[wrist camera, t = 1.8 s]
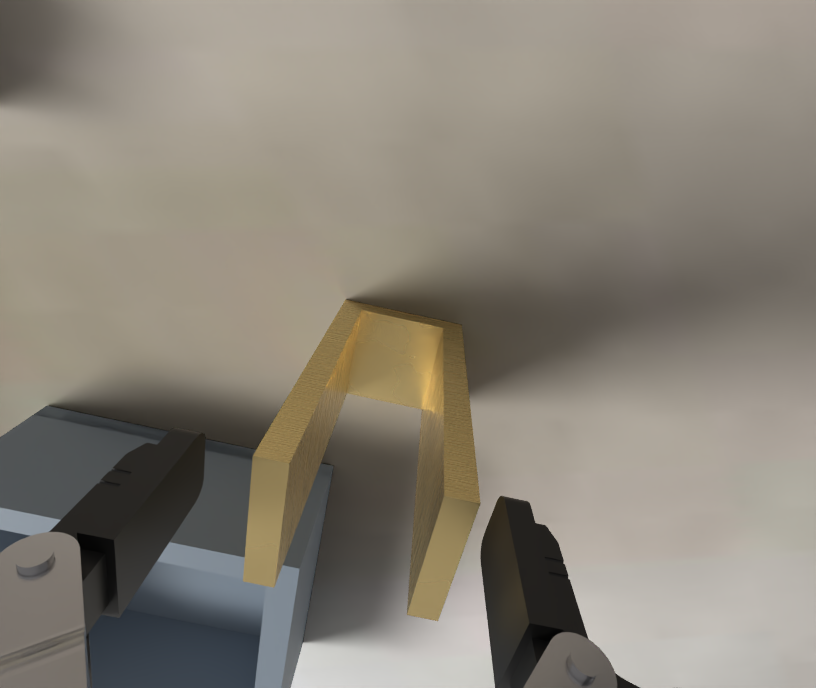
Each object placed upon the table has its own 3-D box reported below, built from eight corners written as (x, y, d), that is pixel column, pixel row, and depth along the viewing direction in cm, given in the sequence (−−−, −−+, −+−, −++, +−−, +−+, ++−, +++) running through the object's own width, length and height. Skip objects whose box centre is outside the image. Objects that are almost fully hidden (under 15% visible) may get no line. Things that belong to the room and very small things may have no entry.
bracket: (461, 324, 19) (480, 503, 10) (439, 403, 21) (437, 620, 12) (345, 299, 19) (252, 455, 10) (333, 380, 21) (242, 581, 11)
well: (333, 465, 23) (299, 568, 17) (302, 643, 29) (269, 761, 23) (47, 405, 23) (-80, 491, 17) (75, 597, 28) (-12, 706, 23)
